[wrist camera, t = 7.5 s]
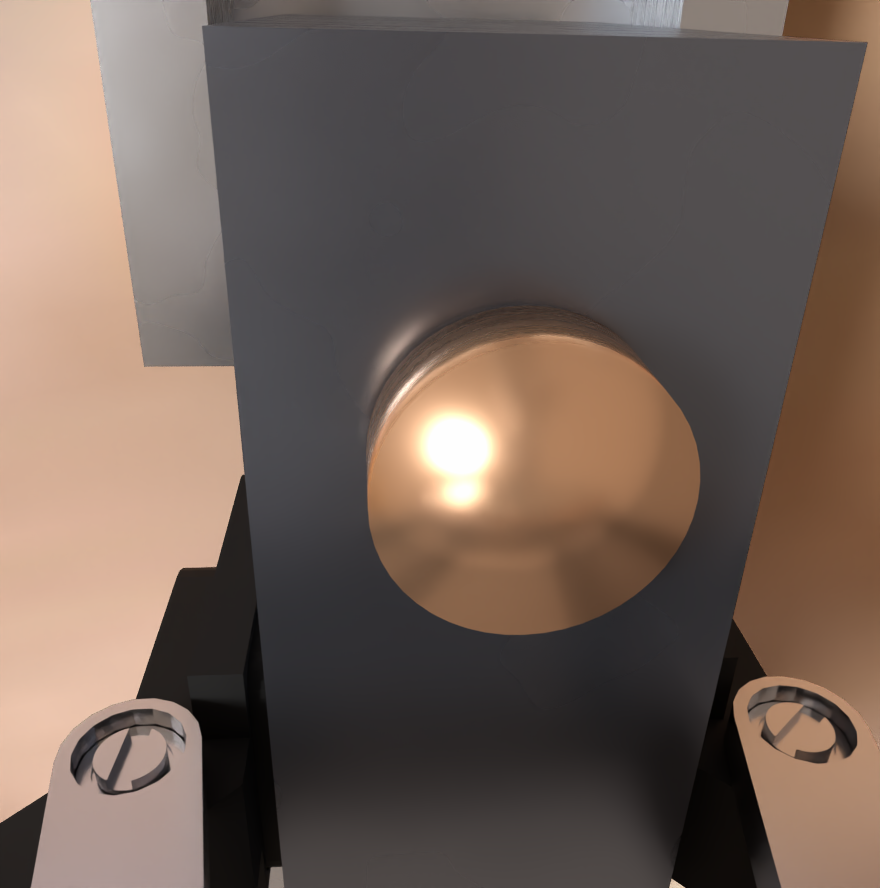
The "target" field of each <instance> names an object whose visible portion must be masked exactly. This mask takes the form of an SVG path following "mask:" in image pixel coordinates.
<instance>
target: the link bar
mask: <svg viewBox="0 0 880 888" xmlns="http://www.w3.org/2000/svg"><path fill="white" fill-rule="evenodd" d="M202 32H203V43H204V53H205V64H206V74H207V85H208V95H209V106H210V116H211V127H212V137H213V148H214V158H215V169H216V179H217V190H218V200H219V211H220V221H221V232H222V242H223V252H224V263H225V273H226V284H227V294H228V305H229V315H230V326H231V336H232V347H233V357H234V368H235V378H236V389H237V399H238V410H239V420H240V431H241V441H242V451H243V462H244V472H245V483H246V493H247V504H248V514H249V525H250V535H251V546H252V556H253V567H254V577H255V588H256V598H257V609H258V619H259V630H260V640H261V650H262V661H263V671H264V682H265V692H266V703H267V713H268V724H269V734H270V745H271V755H272V766H273V776H274V787H275V797H276V808H277V818H278V829H279V839H280V849H281V860H282V870H283V881H284V888H669V886H670V882H671V878H672V874H673V869H674V865H675V861H676V857H677V852H678V848H679V844H680V840H681V835H682V831H683V827H684V822H685V818H686V814H687V810H688V805H689V801H690V797H691V793H692V788H693V784H694V780H695V776H696V771H697V767H698V763H699V759H700V754H701V750H702V746H703V742H704V737H705V733H706V729H707V725H708V720H709V716H710V712H711V707H712V703H713V699H714V695H715V690H716V686H717V682H718V678H719V673H720V669H721V665H722V661H723V656H724V652H725V648H726V644H727V639H728V635H729V631H730V627H731V622H732V618H733V614H734V610H735V605H736V601H737V597H738V593H739V588H740V584H741V580H742V575H743V571H744V567H745V563H746V558H747V554H748V550H749V546H750V541H751V537H752V533H753V529H754V524H755V520H756V516H757V512H758V507H759V503H760V499H761V495H762V490H763V486H764V482H765V478H766V473H767V469H768V465H769V460H770V456H771V452H772V448H773V443H774V439H775V435H776V431H777V426H778V422H779V418H780V414H781V409H782V405H783V401H784V397H785V392H786V388H787V384H788V380H789V375H790V371H791V367H792V363H793V358H794V354H795V350H796V345H797V341H798V337H799V333H800V328H801V324H802V320H803V316H804V311H805V307H806V303H807V299H808V294H809V290H810V286H811V282H812V277H813V273H814V269H815V265H816V260H817V256H818V252H819V248H820V243H821V239H822V235H823V230H824V226H825V222H826V218H827V213H828V209H829V205H830V201H831V196H832V192H833V188H834V184H835V179H836V175H837V171H838V167H839V162H840V158H841V154H842V150H843V145H844V141H845V137H846V133H847V128H848V124H849V120H850V115H851V111H852V107H853V103H854V98H855V94H856V90H857V86H858V81H859V77H860V73H861V69H862V64H863V60H864V56H865V52H866V47H867V43H868V42H856V41H843V40H829V39H816V38H802V37H789V36H776V35H762V34H749V33H735V32H722V31H708V30H695V29H681V28H668V27H655V26H641V25H628V24H614V23H601V22H576V21H538V20H500V19H462V18H424V17H387V16H349V15H311V14H281V15H274V16H267V17H260V18H253V19H246V20H239V21H232V22H225V23H218V24H211V25H204V26H202Z"/></svg>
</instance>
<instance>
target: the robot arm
mask: <svg viewBox="0 0 880 888" xmlns="http://www.w3.org/2000/svg"><path fill="white" fill-rule="evenodd" d="M271 867H282V860H281V849H280V839H279V829H278V818H277V808H276V797H275V787H274V776H273V766H272V755H271V745H270V734H269V724H268V713H267V703H266V692H265V682H264V671H263V661H262V650H261V640H260V630H259V619H258V609H257V598H256V588H255V577H254V567H253V556H252V546H251V535H250V525H249V514H248V504H247V493H246V483H245V475H242V476H241V479H240V483H239V486H238V490H237V494H236V497H235V501H234V505H233V508H232V512H231V516H230V519H229V523H228V527H227V531H226V534H225V538H224V542H223V545H222V549H221V553H220V556H219V560H218V564H217V567H205V568H183V569H181V570H180V572H179V574H178V576H177V578H176V581H175V584H174V587H173V590H172V593H171V596H170V599H169V602H168V605H167V608H166V611H165V614H164V617H163V620H162V623H161V626H160V629H159V632H158V635H157V638H156V641H155V644H154V647H153V650H152V653H151V656H150V659H149V662H148V665H147V668H146V670H145V673H144V676H143V679H142V682H141V685H140V688H139V691H138V694H137V697H136V699H133V700H129V701H126V702H122V703H118V704H114V705H111V706H109V707H107V708H105V709H103V710H101V711H99V712H97V713H94V714H92V715H91V716H89V717H88V718H87V719H85V720H84V721H83V722H82V723H80V724H79V725H78V726H76V727H75V728H74V729H73V730H72V731H71V732H70V734H69V735H68V736H67V737H66V739H65V740H64V741H63V742H62V744H61V745H60V747H59V750H58V753H57V755H56V758H55V760H54V764H53V769H52V775H51V780H50V786H49V791H48V793H47V794H45V795H44V796H42V797H41V798H39V799H37V800H36V801H34V802H33V803H31V804H30V805H28V806H26V807H25V808H23V809H22V810H20V811H19V812H17V813H16V814H14V815H12V816H11V817H9V818H8V819H6V820H5V821H3V822H1V823H0V888H269V880H270V871H271ZM672 879H673V880H675V881H676V882H678V883H679V884H681V885H682V886H684V887H685V888H880V750H879V748H878V746H877V744H876V741H875V739H874V737H873V735H872V733H871V731H870V729H869V727H868V726H867V724H866V723H865V721H864V720H863V718H862V717H861V715H860V713H858V712H857V711H856V710H855V709H854V708H853V707H852V706H851V705H850V704H849V703H847V702H846V701H845V700H844V699H843V698H841V697H839V696H838V695H836V694H834V693H833V692H831V691H829V690H828V689H826V688H824V687H821V686H819V685H816V684H814V683H811V682H808V681H806V680H801V679H796V678H791V677H786V676H772V677H767V676H766V674H765V672H764V671H763V669H762V667H761V665H760V664H759V662H758V660H757V659H756V657H755V655H754V654H753V652H752V650H751V649H750V647H749V645H748V644H747V642H746V640H745V639H744V637H743V635H742V633H741V632H740V630H739V628H738V627H737V625H736V623H735V622H734V620H733V618H732V622H731V627H730V631H729V635H728V639H727V644H726V648H725V652H724V656H723V661H722V665H721V669H720V673H719V678H718V682H717V686H716V690H715V695H714V699H713V703H712V707H711V712H710V716H709V720H708V725H707V729H706V733H705V737H704V742H703V746H702V750H701V754H700V759H699V763H698V767H697V771H696V776H695V780H694V784H693V788H692V793H691V797H690V801H689V805H688V810H687V814H686V818H685V822H684V827H683V831H682V835H681V840H680V844H679V848H678V852H677V857H676V861H675V865H674V869H673V874H672Z"/></svg>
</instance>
